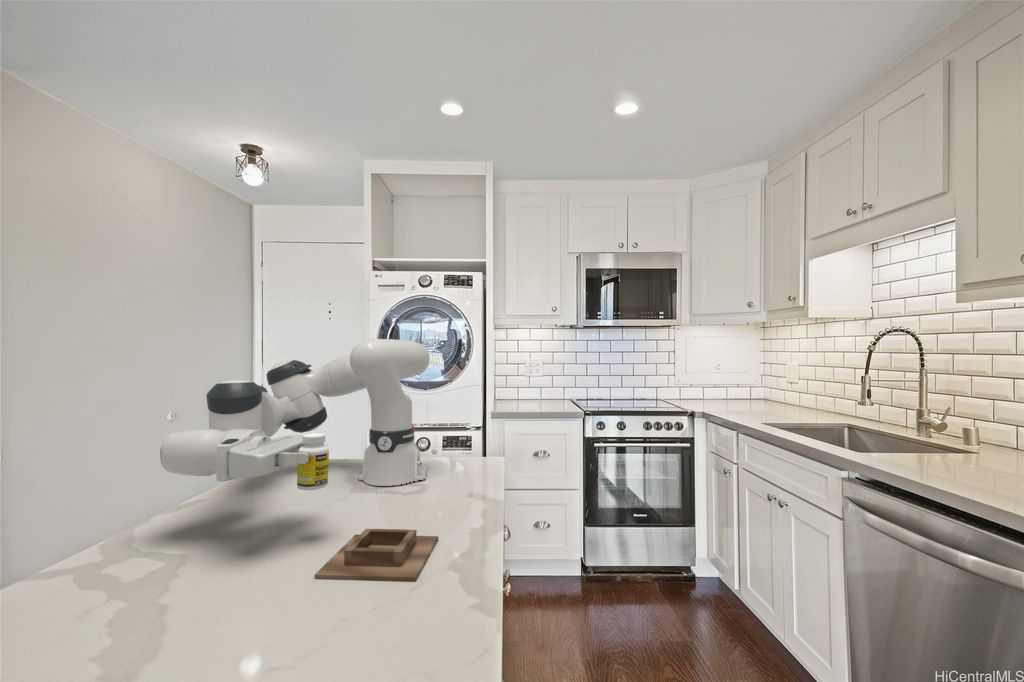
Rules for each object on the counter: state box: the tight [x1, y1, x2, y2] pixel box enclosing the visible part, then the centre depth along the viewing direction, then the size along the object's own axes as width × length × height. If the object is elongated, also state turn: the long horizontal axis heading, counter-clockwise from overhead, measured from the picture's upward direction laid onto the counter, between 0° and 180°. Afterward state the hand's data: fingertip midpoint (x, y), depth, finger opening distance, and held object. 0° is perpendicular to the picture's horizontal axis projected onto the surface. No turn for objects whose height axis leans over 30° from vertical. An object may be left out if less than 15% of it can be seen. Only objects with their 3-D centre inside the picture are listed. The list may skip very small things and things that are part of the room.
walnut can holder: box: [314, 528, 439, 582], centre depth 80 cm, size 16×16×3 cm
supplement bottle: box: [296, 432, 330, 491], centre depth 88 cm, size 5×5×10 cm
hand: (318, 453), depth 88 cm, fingers closed on supplement bottle, 5 cm apart
